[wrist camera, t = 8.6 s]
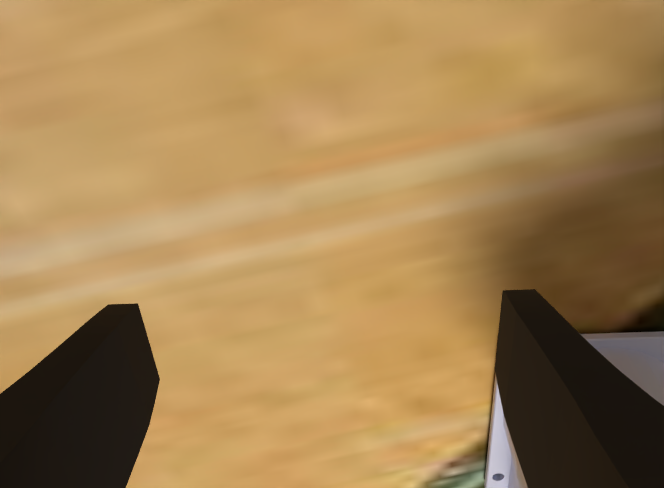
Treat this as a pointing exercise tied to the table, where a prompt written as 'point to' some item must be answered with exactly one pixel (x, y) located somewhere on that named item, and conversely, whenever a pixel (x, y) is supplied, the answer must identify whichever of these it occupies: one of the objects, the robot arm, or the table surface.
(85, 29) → the table surface
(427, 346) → the table surface
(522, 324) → the robot arm
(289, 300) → the table surface
